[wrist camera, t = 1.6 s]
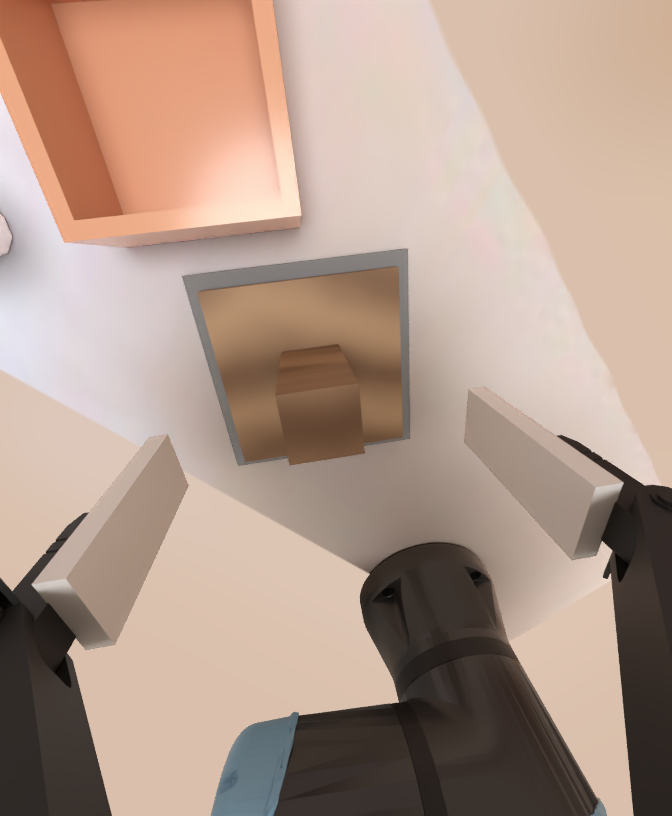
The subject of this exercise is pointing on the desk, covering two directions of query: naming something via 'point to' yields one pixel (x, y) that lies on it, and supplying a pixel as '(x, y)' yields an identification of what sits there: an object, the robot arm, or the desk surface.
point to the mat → (294, 272)
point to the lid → (310, 362)
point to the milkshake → (4, 236)
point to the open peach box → (151, 116)
